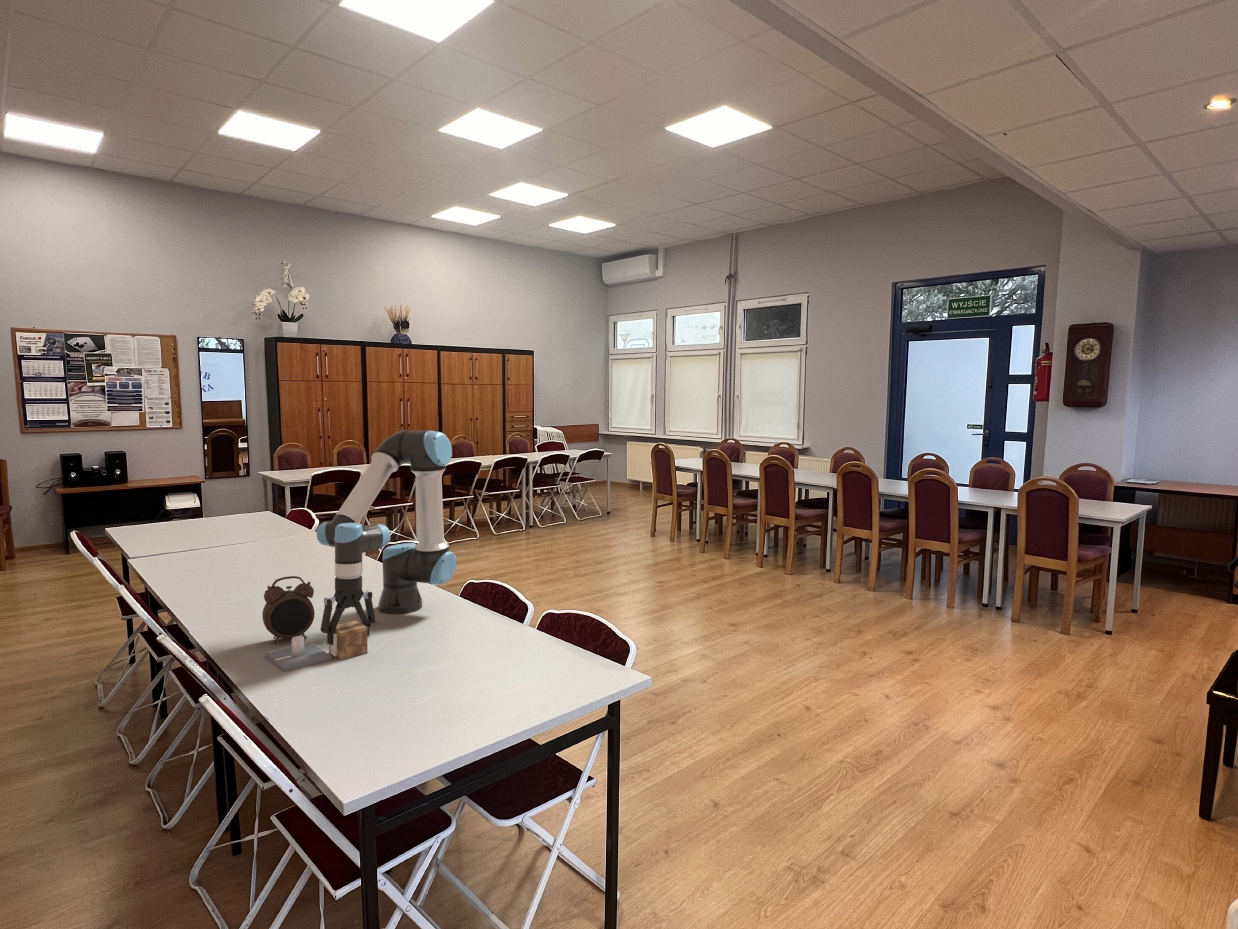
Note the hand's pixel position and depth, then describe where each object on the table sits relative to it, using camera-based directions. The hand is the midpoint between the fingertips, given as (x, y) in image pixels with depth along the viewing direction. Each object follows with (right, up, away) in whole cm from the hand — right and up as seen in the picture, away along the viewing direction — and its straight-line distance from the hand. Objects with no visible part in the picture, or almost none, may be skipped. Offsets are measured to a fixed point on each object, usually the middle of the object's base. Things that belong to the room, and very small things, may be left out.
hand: (348, 651), depth 202 cm
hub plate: (-13, -1, -4) cm, 14 cm away
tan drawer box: (0, -1, 0) cm, 1 cm away
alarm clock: (-22, 0, +10) cm, 25 cm away
